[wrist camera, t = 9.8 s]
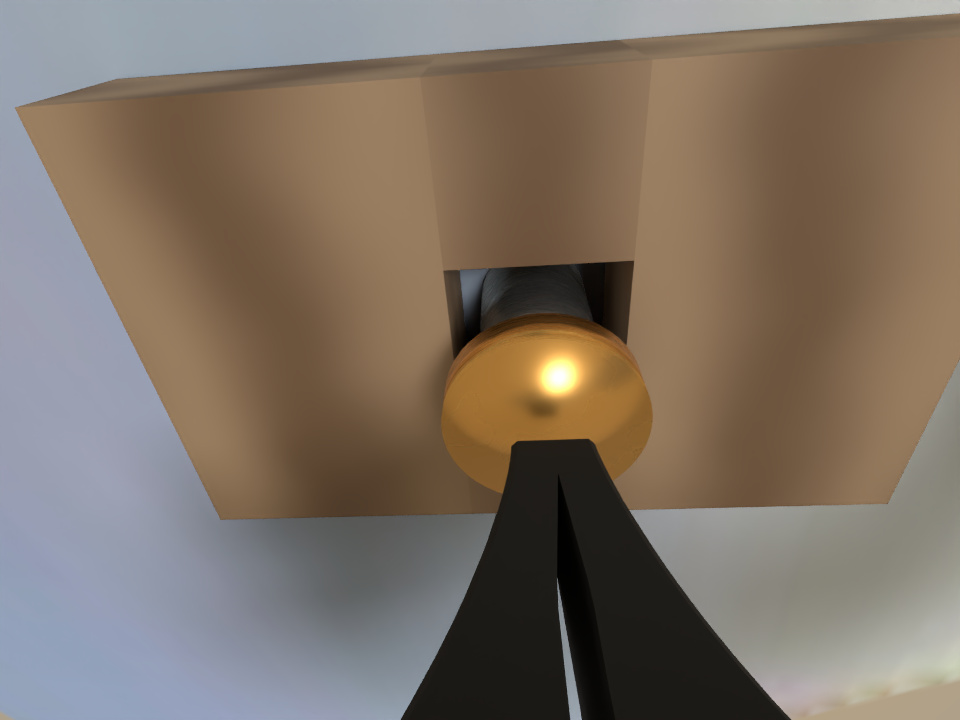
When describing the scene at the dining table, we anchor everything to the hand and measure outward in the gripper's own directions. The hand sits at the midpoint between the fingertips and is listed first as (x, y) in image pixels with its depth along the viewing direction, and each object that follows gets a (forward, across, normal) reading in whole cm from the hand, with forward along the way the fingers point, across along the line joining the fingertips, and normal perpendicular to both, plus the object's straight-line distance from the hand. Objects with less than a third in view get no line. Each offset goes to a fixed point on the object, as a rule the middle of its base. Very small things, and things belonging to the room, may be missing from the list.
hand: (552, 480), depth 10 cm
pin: (+8, 0, 0) cm, 8 cm away
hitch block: (+8, 0, 0) cm, 8 cm away
